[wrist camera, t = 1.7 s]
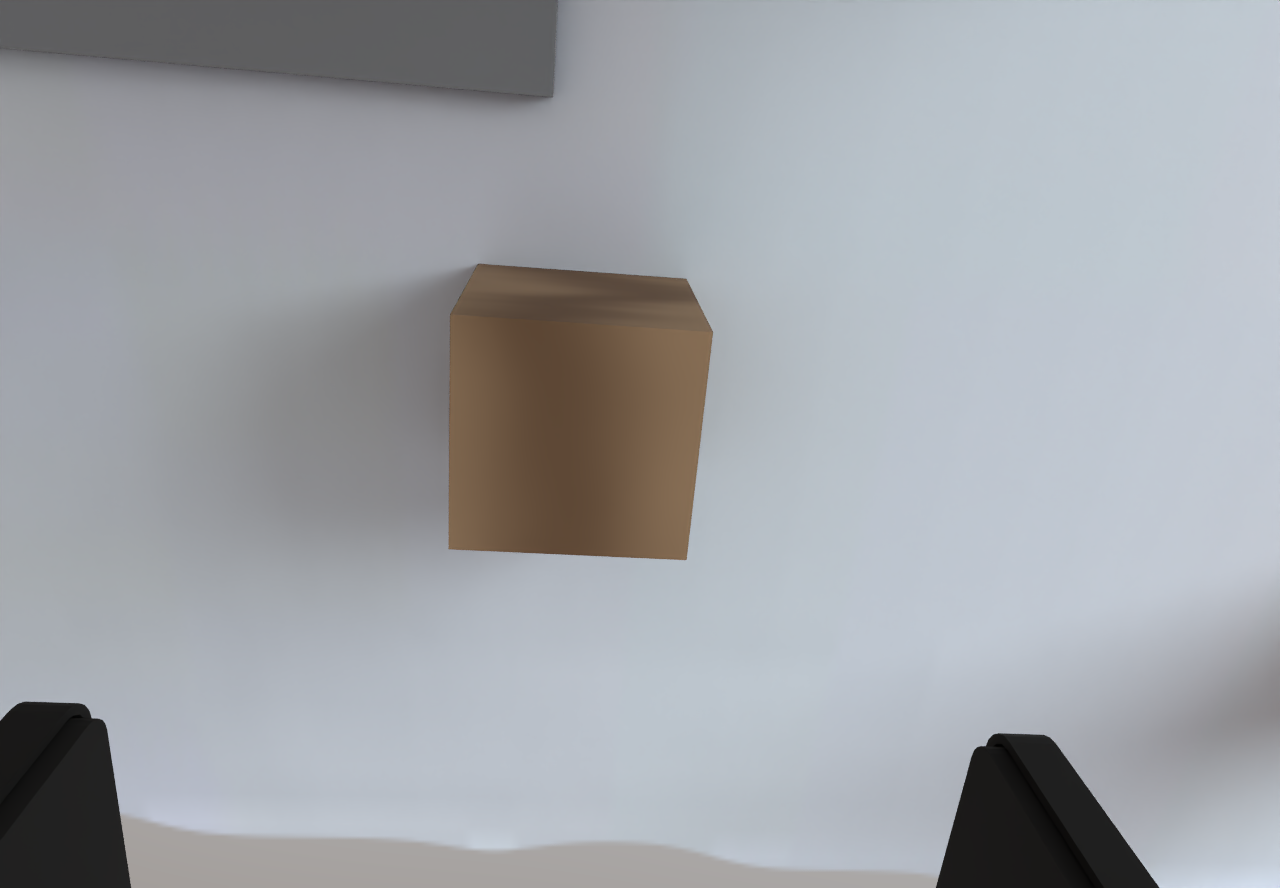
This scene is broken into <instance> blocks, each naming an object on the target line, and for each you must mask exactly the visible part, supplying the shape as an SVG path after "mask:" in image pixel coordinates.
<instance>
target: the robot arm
mask: <svg viewBox="0 0 1280 888" xmlns="http://www.w3.org/2000/svg"><path fill="white" fill-rule="evenodd" d="M0 888H131V884H130V878H129V871H128V864H127V858H126V851H125V845H124V838H123V832H122V825H121V818H120V812H119V805H118V799H117V792H116V785H115V779H114V772H113V766H112V759H111V752H110V746H109V739H108V733H107V728H106V725H105V723H104V722H103V720H101V719H92V718H91V715H90V711H89V710H88V708H87V707H86V706H85V705H83V704H79V703H50V702H22V703H19V704H17V705H16V706H15V707H13V708H12V709H11V710H10V711H9V712H8V713H7V714H6V715H5V716H4V717H3V718H2V720H1V721H0ZM936 888H1159V887H1158V885H1157V884H1156V883H1155V881H1154V880H1153V878H1152V877H1151V876H1150V874H1149V873H1148V871H1147V870H1146V869H1145V867H1144V866H1143V864H1142V863H1141V862H1140V860H1139V859H1138V857H1137V856H1136V855H1135V853H1134V852H1133V850H1132V849H1131V848H1130V846H1129V845H1128V844H1127V842H1126V841H1125V839H1124V838H1123V837H1122V835H1121V834H1120V832H1119V831H1118V830H1117V828H1116V827H1115V825H1114V824H1113V823H1112V821H1111V820H1110V818H1109V817H1108V816H1107V814H1106V813H1105V811H1104V810H1103V809H1102V807H1101V806H1100V804H1099V803H1098V802H1097V800H1096V799H1095V798H1094V796H1093V795H1092V793H1091V792H1090V791H1089V789H1088V788H1087V786H1086V785H1085V784H1084V782H1083V781H1082V779H1081V778H1080V777H1079V775H1078V774H1077V772H1076V771H1075V770H1074V768H1073V767H1072V765H1071V764H1070V763H1069V761H1068V760H1067V759H1066V757H1065V756H1064V754H1063V753H1062V752H1061V750H1060V749H1059V747H1058V746H1057V745H1056V743H1055V742H1054V741H1053V740H1052V739H1051V738H1050V737H1047V736H1045V735H1030V734H1000V733H998V734H994V735H992V736H991V738H990V739H989V740H988V742H987V745H986V746H980V747H977V748H976V749H975V750H974V752H973V755H972V757H971V761H970V765H969V768H968V772H967V776H966V779H965V783H964V787H963V790H962V794H961V798H960V801H959V805H958V809H957V812H956V816H955V820H954V823H953V827H952V831H951V834H950V838H949V842H948V845H947V849H946V853H945V856H944V860H943V864H942V867H941V871H940V875H939V878H938V882H937V886H936Z"/></svg>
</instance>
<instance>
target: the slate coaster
mask: <svg viewBox="0 0 1280 888" xmlns="http://www.w3.org/2000/svg"><path fill="white" fill-rule="evenodd" d="M557 7H558V0H0V48H4V49H15V50H26V51H38V52H49V53H60V54H71V55H83V56H94V57H105V58H116V59H128V60H139V61H150V62H161V63H173V64H184V65H195V66H206V67H218V68H229V69H240V70H251V71H263V72H274V73H285V74H296V75H307V76H319V77H330V78H341V79H352V80H364V81H375V82H386V83H397V84H409V85H420V86H431V87H442V88H454V89H465V90H476V91H487V92H499V93H510V94H521V95H532V96H544V97H553V93H554V72H555V50H556V28H557Z"/></svg>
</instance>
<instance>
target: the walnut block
mask: <svg viewBox="0 0 1280 888" xmlns="http://www.w3.org/2000/svg"><path fill="white" fill-rule="evenodd" d="M712 336H713V331H712V329H711V327H710V325H709V323H708V321H707V319H706V317H705V315H704V313H703V311H702V309H701V307H700V305H699V303H698V301H697V299H696V297H695V295H694V293H693V291H692V289H691V287H690V285H689V283H688V281H687V279H681V278H667V277H653V276H639V275H626V274H612V273H598V272H584V271H570V270H556V269H542V268H529V267H515V266H501V265H487V264H478V265H477V267H476V269H475V271H474V272H473V274H472V276H471V278H470V280H469V281H468V283H467V285H466V287H465V289H464V290H463V292H462V294H461V296H460V298H459V299H458V301H457V303H456V305H455V307H454V308H453V310H452V312H451V314H450V416H449V549H456V550H478V551H500V552H522V553H543V554H565V555H587V556H609V557H631V558H653V559H675V560H686V559H687V551H688V542H689V534H690V525H691V516H692V508H693V499H694V491H695V482H696V473H697V465H698V456H699V448H700V439H701V430H702V422H703V413H704V405H705V396H706V387H707V379H708V370H709V362H710V353H711V344H712Z"/></svg>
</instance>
